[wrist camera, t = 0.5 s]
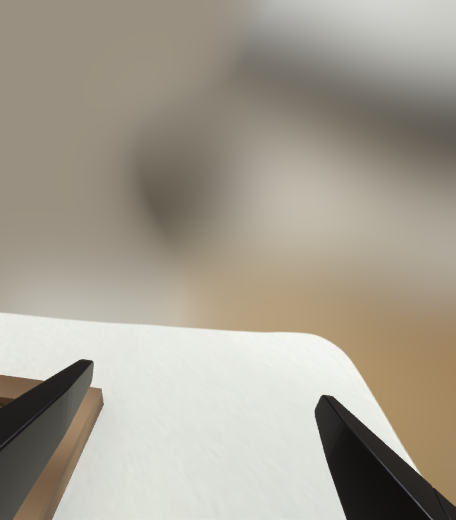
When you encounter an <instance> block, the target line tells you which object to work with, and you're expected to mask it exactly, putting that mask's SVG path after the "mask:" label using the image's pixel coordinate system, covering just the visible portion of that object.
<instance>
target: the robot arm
mask: <svg viewBox="0 0 456 520" xmlns="http://www.w3.org/2000/svg"><path fill="white" fill-rule="evenodd" d="M93 367H94V363H93V361H92V360H85V359H81V360H79V361H77V362H75V363H74V364H72V365H70V366H69V367H67V368H65V369H64V370H62V371H60V372H59V373H57V374H55V375H54V376H52V377H50V378H49V379H47V380H45V381H44V382H42V383H40V384H39V385H37V386H35V387H34V388H32V389H30V390H29V391H27V392H25V393H24V394H22V395H20V396H19V397H17V398H15V399H14V400H12V401H10V402H9V403H7V404H5V405H4V406H2V407H0V520H13V519H14V517H15V515H16V514H17V512H18V510H19V509H20V507H21V506H22V504H23V502H24V501H25V499H26V498H27V496H28V494H29V493H30V491H31V489H32V488H33V486H34V485H35V483H36V481H37V480H38V478H39V477H40V475H41V473H42V472H43V470H44V468H45V467H46V465H47V464H48V462H49V460H50V459H51V457H52V456H53V454H54V452H55V451H56V449H57V447H58V446H59V444H60V443H61V441H62V439H63V438H64V436H65V434H66V432H67V430H68V428H69V427H70V425H71V423H72V421H73V419H74V417H75V415H76V413H77V411H78V409H79V407H80V405H81V403H82V401H83V399H84V397H85V395H86V393H87V391H88V389H89V387H90V384H91V382H92V376H93ZM315 418H316V422H317V426H318V430H319V434H320V438H321V442H322V445H323V449H324V453H325V457H326V460H327V463H328V467H329V470H330V473H331V475H332V478H333V481H334V484H335V487H336V490H337V493H338V496H339V499H340V502H341V505H342V508H343V510H344V513H345V516H346V519H347V520H456V507H455V506H454V505H453V504H452V503H450V502H449V501H448V500H447V499H446V498H445V497H444V496H442V495H441V494H440V493H439V492H438V491H437V490H436V489H435V488H432V486H431V485H430V484H429V483H428V482H427V481H426V480H425V479H424V478H423V477H422V476H421V475H419V474H418V473H417V472H416V471H415V470H414V469H413V468H412V467H411V466H409V465H408V464H407V463H406V462H405V461H404V460H403V459H402V458H401V457H399V456H398V455H397V454H396V453H395V452H394V451H393V450H392V449H391V448H389V447H388V446H387V445H386V444H385V443H384V442H383V441H382V440H381V439H379V438H378V437H377V436H376V435H375V434H374V433H373V432H372V431H371V430H370V429H368V428H367V427H366V426H365V425H364V424H363V423H362V422H361V421H360V420H358V419H357V418H356V417H355V416H354V415H353V414H352V413H351V412H350V411H348V410H347V409H346V408H345V407H344V406H343V405H342V404H341V403H340V402H338V401H337V400H336V399H335V398H334V397H333V396H329V395H322V396H321V397H320V399H319V402H318V404H317V406H316V408H315Z"/></svg>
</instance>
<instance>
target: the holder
mask: <svg viewBox="0 0 456 520" xmlns="http://www.w3.org/2000/svg"><path fill="white" fill-rule="evenodd" d="M42 382H44V381H41V380H34V379H27V378H19V377H12V376H5V375H0V407H2V406H4V405H5V404H7V403H9V402H10V401H12V400H14V399H15V398H17V397H19V396H20V395H22V394H24V393H25V392H27V391H29V390H30V389H32V388H34V387H35V386H37V385H39V384H40V383H42ZM103 405H104V403H103V396H102V389H100V388H93V387H89V389H88V391H87V393H86V395H85V397H84V399H83V401H82V403H81V405H80V407H79V409H78V411H77V413H76V415H75V417H74V419H73V421H72V423H71V425H70V427H69V428H68V430H67V432H66V434H65V436H64V438H63V439H62V441H61V443H60V444H59V446H58V447H57V449H56V451H55V452H54V454H53V456H52V457H51V459H50V460H49V462H48V464H47V465H46V467H45V468H44V470H43V472H42V473H41V475H40V477H39V478H38V480H37V481H36V483H35V485H34V486H33V488H32V489H31V491H30V493H29V494H28V496H27V498H26V499H25V501H24V502H23V504H22V506H21V507H20V509H19V510H18V512H17V514H16V515H15V517H14V519H13V520H52V518H53V516H54V513H55V511H56V509H57V507H58V505H59V502H60V500H61V498H62V496H63V493H64V491H65V489H66V487H67V485H68V482H69V480H70V478H71V476H72V473H73V471H74V469H75V467H76V465H77V462H78V460H79V458H80V456H81V453H82V451H83V449H84V447H85V445H86V442H87V440H88V438H89V436H90V433H91V431H92V429H93V427H94V425H95V422H96V420H97V418H98V416H99V413H100V411H101V409H102V407H103Z"/></svg>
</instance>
